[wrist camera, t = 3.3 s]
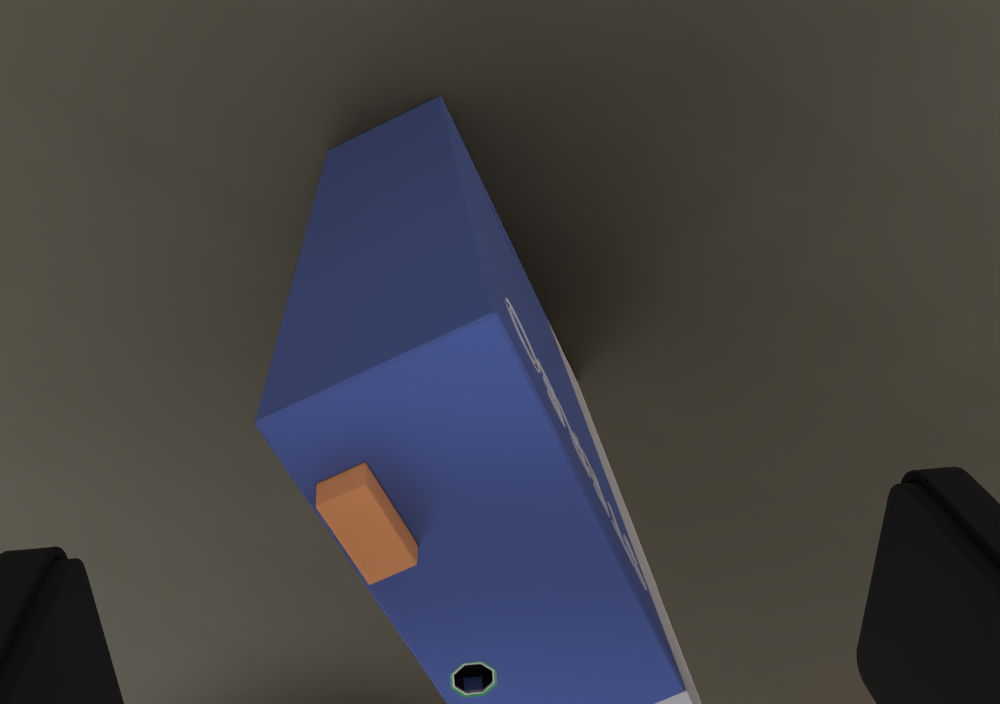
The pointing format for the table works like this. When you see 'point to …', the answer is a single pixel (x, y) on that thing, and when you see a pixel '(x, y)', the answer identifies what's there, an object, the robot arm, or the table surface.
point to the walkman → (458, 438)
